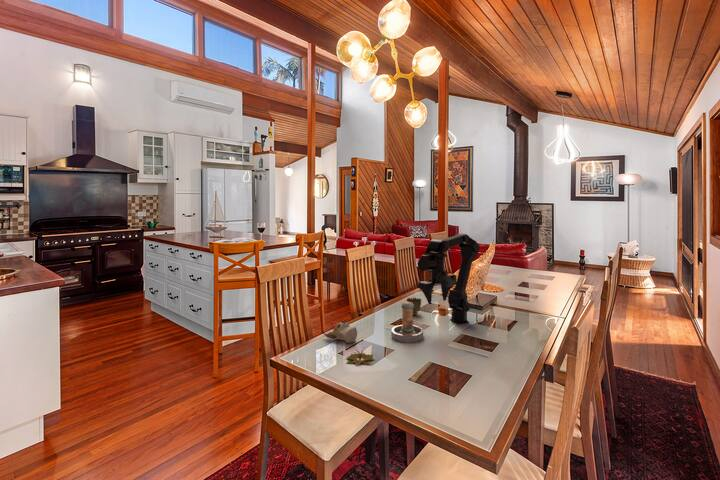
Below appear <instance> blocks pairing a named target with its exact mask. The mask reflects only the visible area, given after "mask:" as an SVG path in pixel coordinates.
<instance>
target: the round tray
mask: <svg viewBox="0 0 720 480" xmlns="http://www.w3.org/2000/svg"><path fill="white" fill-rule="evenodd" d="M401 328H402V324H400V325H398V324H397V325H395V326H394V327H392V328H391V331H390V335H391V339H393V340H394V341H396V342H398V343H405V344H407V343H408V344H409V343H410V344H413V343H418V342H421V341H422V340H424V328H422V327H420V326H418V325H414V324H413V328H414V331H415V334H414V335H402V334H400V331H401Z"/></svg>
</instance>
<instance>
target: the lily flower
mask: <svg viewBox="0 0 720 480" xmlns="http://www.w3.org/2000/svg"><path fill="white" fill-rule="evenodd" d="M355 350H356V352H355V351H354V353H351V354H350V355H349V356H347V357H346V359H348V361H346V364H354V363H355V364H356V367H358V366H359V365H361V364H366V365H369V366H370V364H371V360H372V361H373V360H374V361H376V359H375V358H373V356H374V354H366V352H365V351H366V349H365V347H363V349H362V350H361V349H360V350H358V348H356V349H355Z"/></svg>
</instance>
